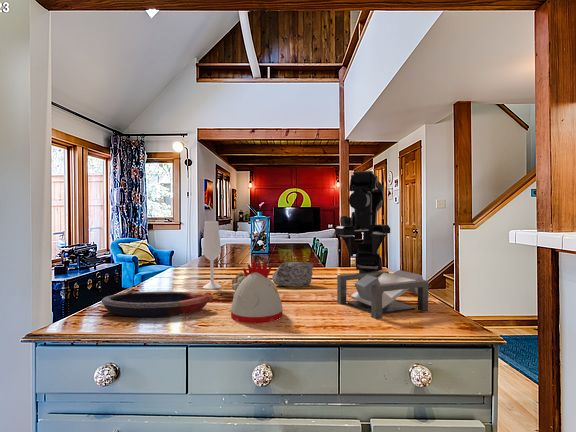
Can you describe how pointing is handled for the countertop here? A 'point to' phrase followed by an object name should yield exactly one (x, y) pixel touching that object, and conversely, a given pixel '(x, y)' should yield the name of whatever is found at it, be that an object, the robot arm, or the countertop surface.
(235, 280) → the mineral formation
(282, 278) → the rock
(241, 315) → the kitchen timer
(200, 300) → the dish
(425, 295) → the frame
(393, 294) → the trapdoor
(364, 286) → the grey matte cube
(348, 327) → the countertop surface
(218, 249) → the champagne flute
